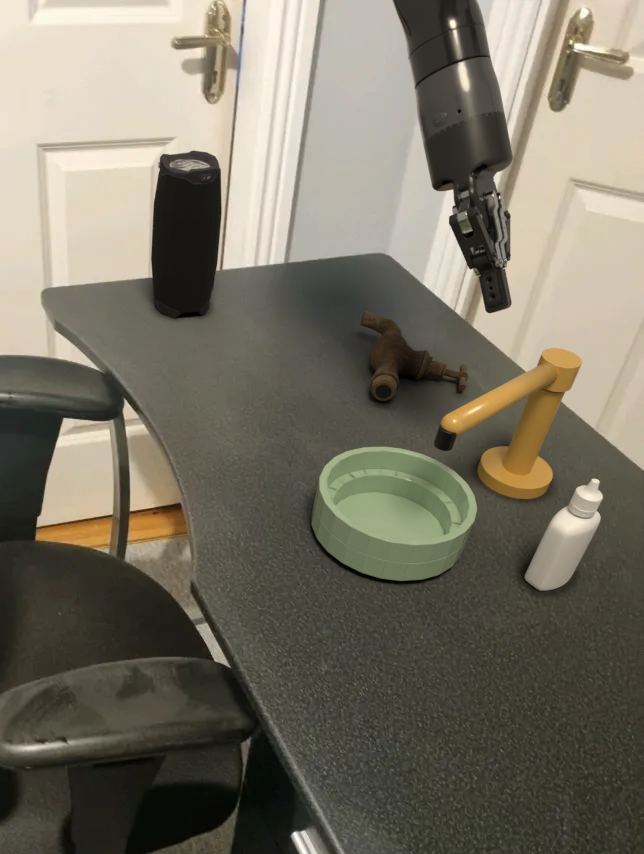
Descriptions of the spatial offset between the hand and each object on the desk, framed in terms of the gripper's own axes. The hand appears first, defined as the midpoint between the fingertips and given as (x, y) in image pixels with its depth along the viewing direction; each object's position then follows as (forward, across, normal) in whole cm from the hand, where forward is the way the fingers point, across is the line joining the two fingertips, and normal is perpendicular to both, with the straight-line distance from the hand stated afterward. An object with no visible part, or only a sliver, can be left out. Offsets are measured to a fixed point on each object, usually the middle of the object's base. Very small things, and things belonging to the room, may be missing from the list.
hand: (499, 310), depth 84 cm
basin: (+18, -9, +13) cm, 24 cm away
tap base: (+18, +9, +4) cm, 21 cm away
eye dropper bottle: (+27, -5, -1) cm, 27 cm away
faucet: (+4, +20, +18) cm, 28 cm away
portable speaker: (-14, +16, +46) cm, 51 cm away
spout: (+10, -3, +1) cm, 10 cm away
